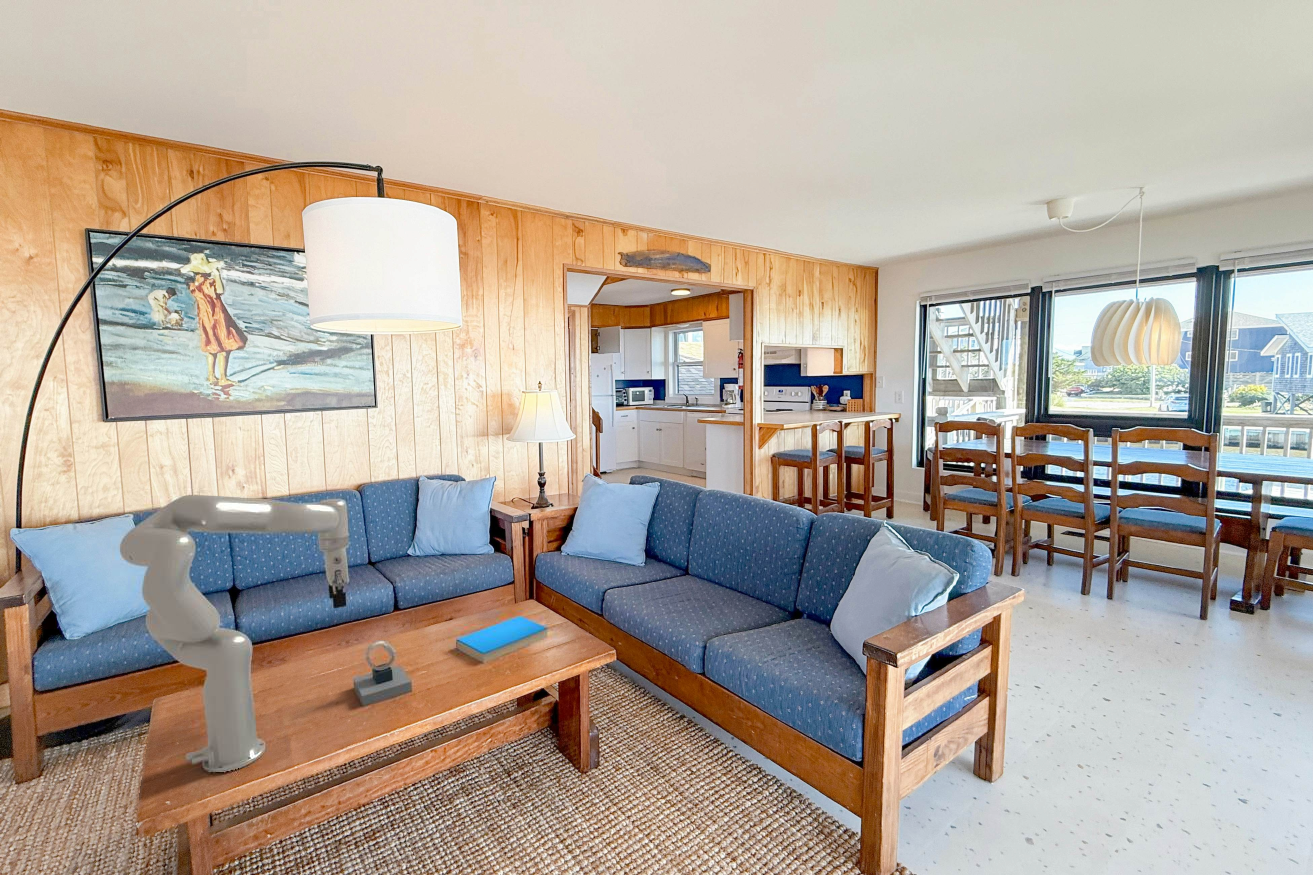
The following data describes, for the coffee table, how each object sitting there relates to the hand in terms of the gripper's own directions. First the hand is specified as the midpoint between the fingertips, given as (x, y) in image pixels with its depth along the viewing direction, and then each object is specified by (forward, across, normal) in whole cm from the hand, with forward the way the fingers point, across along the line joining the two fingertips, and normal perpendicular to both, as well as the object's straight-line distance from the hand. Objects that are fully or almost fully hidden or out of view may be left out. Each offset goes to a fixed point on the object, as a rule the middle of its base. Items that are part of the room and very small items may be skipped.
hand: (337, 602), depth 177 cm
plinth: (+27, -5, -10) cm, 29 cm away
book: (+26, +4, -49) cm, 56 cm away
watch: (+24, -4, -10) cm, 26 cm away
